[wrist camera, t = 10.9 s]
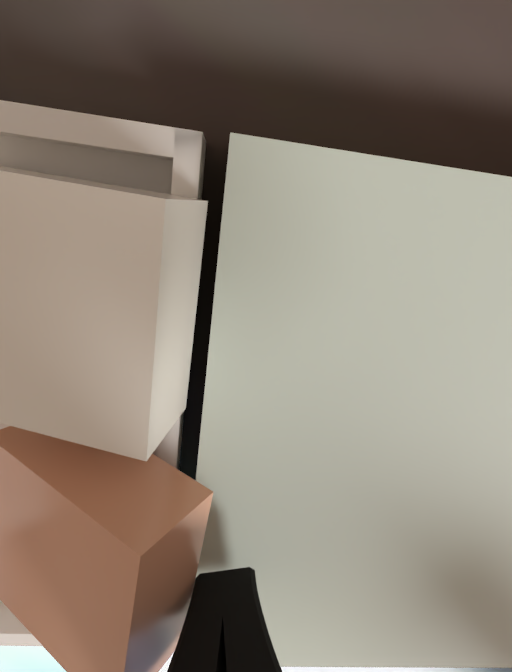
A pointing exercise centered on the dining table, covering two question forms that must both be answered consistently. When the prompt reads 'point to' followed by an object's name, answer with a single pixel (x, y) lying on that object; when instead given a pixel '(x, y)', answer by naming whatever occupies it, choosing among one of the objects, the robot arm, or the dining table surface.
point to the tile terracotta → (97, 550)
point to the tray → (105, 167)
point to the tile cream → (96, 309)
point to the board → (363, 405)
